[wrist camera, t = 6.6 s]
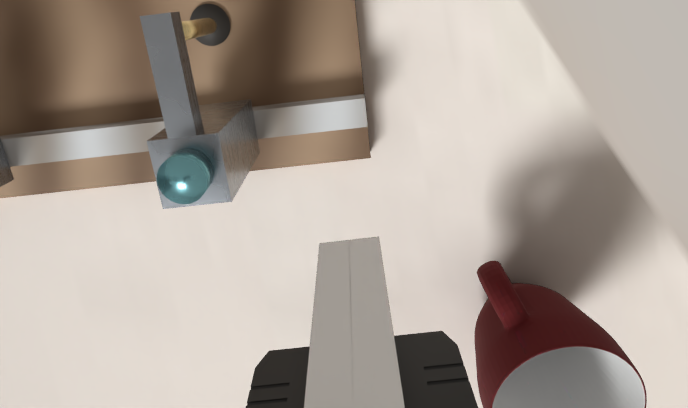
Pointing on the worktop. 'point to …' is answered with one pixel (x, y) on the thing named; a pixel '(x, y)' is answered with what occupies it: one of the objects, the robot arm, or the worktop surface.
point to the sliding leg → (194, 122)
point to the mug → (546, 351)
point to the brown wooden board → (141, 95)
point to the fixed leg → (4, 168)
